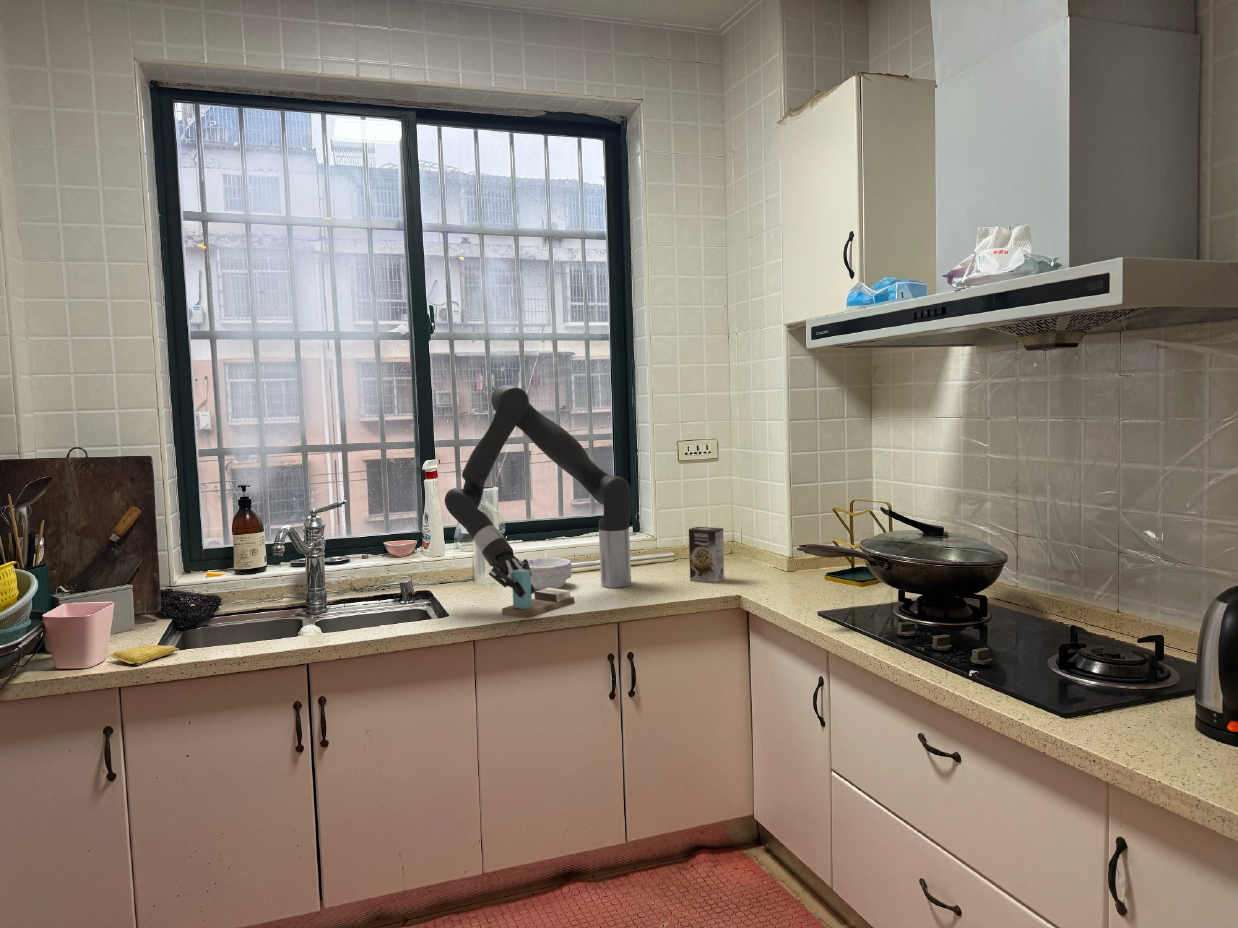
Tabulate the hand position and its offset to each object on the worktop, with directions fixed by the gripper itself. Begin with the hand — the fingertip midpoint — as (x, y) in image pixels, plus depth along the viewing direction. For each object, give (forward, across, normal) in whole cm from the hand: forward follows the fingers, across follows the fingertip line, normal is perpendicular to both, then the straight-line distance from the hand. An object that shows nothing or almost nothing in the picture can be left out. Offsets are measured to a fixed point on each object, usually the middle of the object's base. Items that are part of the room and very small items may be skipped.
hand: (527, 593), depth 228 cm
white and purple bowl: (-9, +28, +17) cm, 34 cm away
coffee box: (+19, +58, -11) cm, 62 cm away
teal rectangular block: (+1, 0, +4) cm, 4 cm away
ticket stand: (+2, +7, +5) cm, 9 cm away
